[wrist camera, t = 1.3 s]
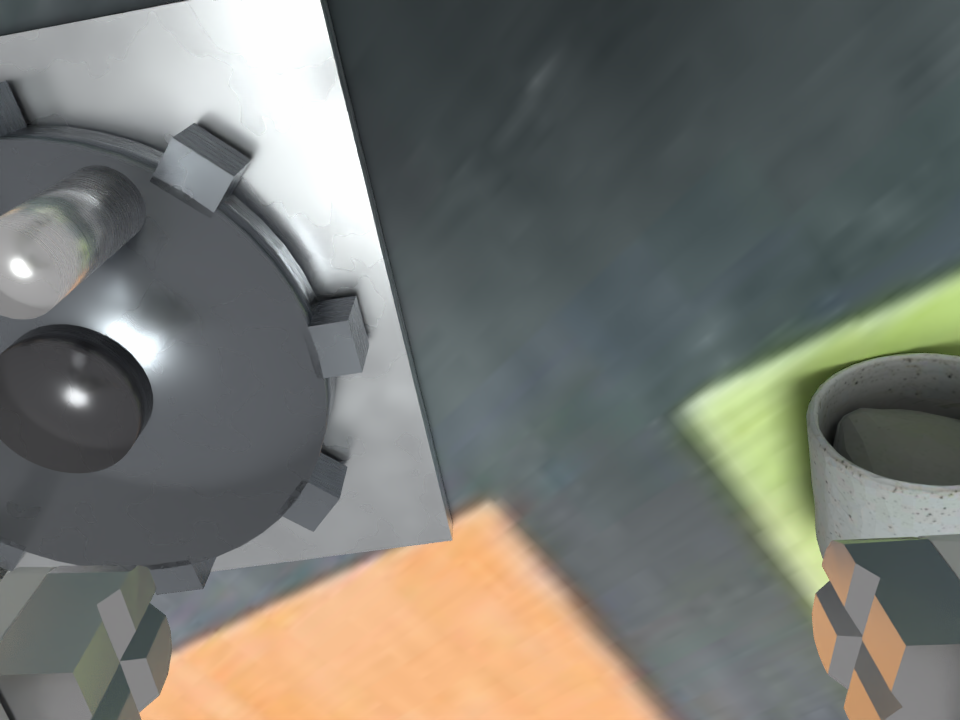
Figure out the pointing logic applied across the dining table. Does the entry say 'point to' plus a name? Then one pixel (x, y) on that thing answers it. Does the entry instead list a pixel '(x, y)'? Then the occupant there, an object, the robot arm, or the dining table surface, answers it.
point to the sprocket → (154, 356)
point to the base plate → (267, 218)
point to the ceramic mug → (887, 449)
